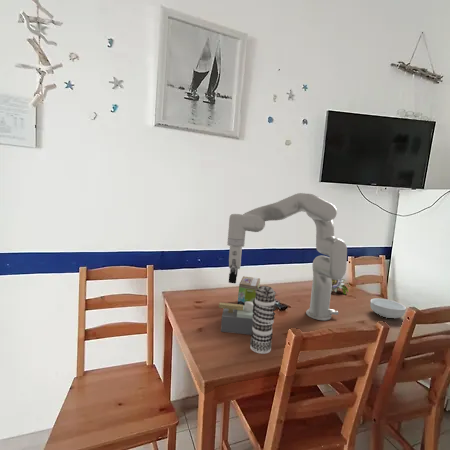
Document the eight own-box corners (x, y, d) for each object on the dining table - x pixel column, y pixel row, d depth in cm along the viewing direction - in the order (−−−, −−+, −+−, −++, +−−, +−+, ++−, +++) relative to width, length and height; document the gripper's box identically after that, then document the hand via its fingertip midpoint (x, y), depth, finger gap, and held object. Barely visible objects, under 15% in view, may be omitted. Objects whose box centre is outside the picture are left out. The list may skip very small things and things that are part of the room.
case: (258, 323, 142) (260, 309, 141) (259, 335, 131) (260, 320, 130) (223, 320, 143) (224, 306, 142) (220, 331, 132) (221, 316, 131)
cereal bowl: (404, 315, 166) (405, 302, 165) (404, 326, 151) (406, 312, 150) (370, 307, 174) (371, 295, 173) (367, 316, 160) (369, 304, 159)
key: (242, 311, 137) (243, 304, 137) (242, 314, 135) (243, 306, 134) (219, 309, 138) (219, 302, 138) (218, 311, 136) (218, 304, 135)
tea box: (255, 314, 153) (258, 286, 151) (236, 311, 155) (238, 283, 153) (258, 303, 168) (260, 277, 166) (240, 300, 170) (242, 275, 168)
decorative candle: (260, 356, 114) (265, 293, 111) (244, 345, 121) (249, 286, 118) (276, 350, 120) (282, 290, 116) (261, 340, 127) (266, 283, 124)
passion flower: (330, 301, 196) (320, 282, 199) (339, 294, 204) (329, 276, 207) (345, 296, 187) (334, 276, 190) (355, 289, 195) (344, 270, 198)
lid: (259, 310, 140) (259, 300, 140) (259, 319, 130) (260, 308, 130) (237, 308, 141) (238, 297, 141) (236, 317, 131) (237, 306, 131)
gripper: (244, 246, 124) (240, 286, 126) (244, 239, 141) (241, 275, 143) (225, 244, 124) (222, 284, 126) (229, 238, 141) (226, 273, 143)
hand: (232, 279), depth 135 cm, fingers open, 9 cm apart
